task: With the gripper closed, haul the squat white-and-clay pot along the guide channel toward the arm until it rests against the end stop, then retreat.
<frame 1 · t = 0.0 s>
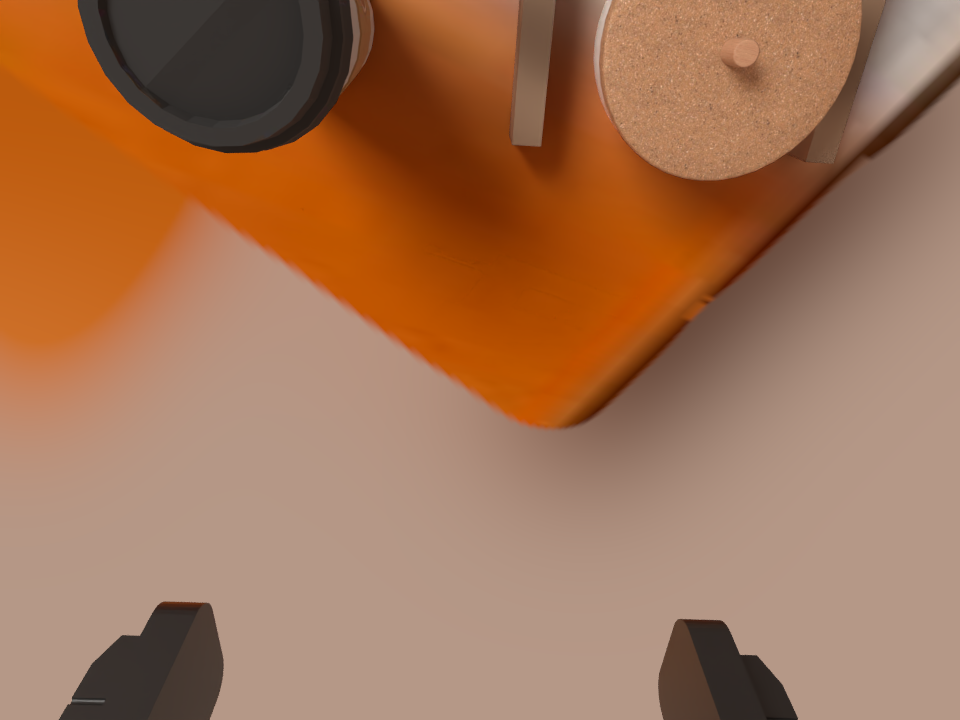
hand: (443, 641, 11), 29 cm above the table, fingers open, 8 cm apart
coffee cup: (314, 21, 32), on the table
lidded jar: (676, 44, 33), on the table
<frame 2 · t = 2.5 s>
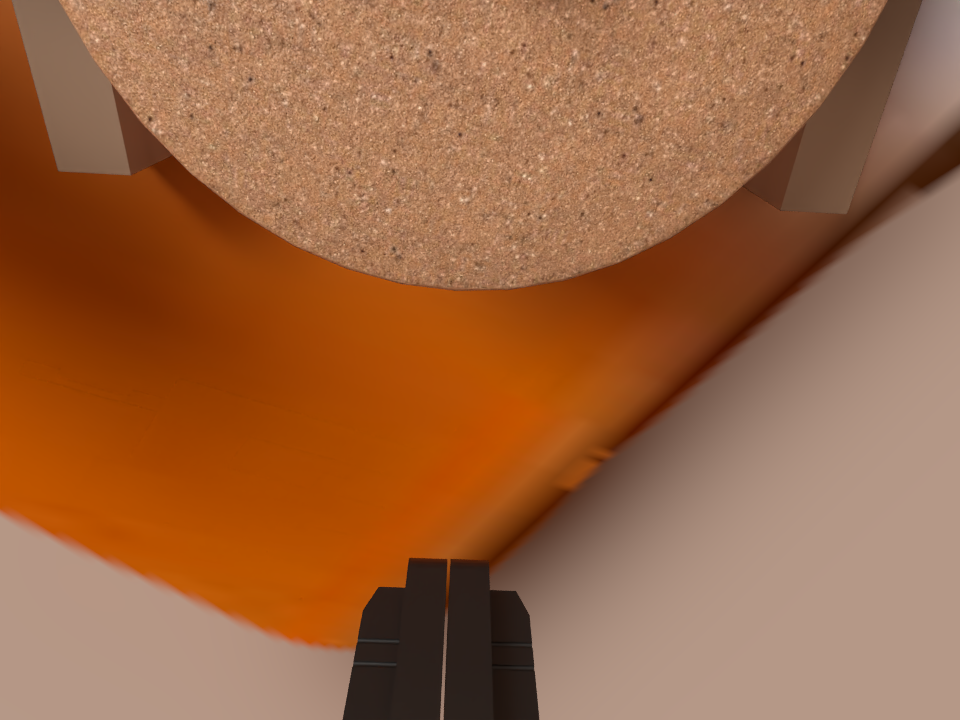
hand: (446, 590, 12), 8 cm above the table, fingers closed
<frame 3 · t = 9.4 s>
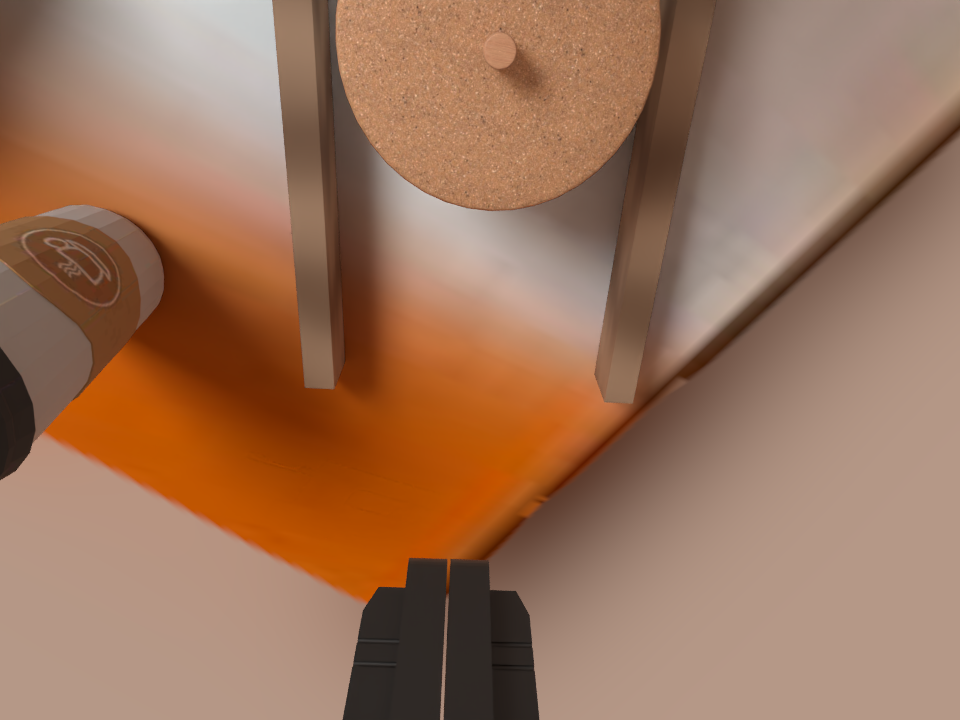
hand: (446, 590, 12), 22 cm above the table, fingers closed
channel: (485, 121, 29), on the table
coffee cup: (107, 262, 32), on the table
lidded jar: (492, 45, 27), on the table
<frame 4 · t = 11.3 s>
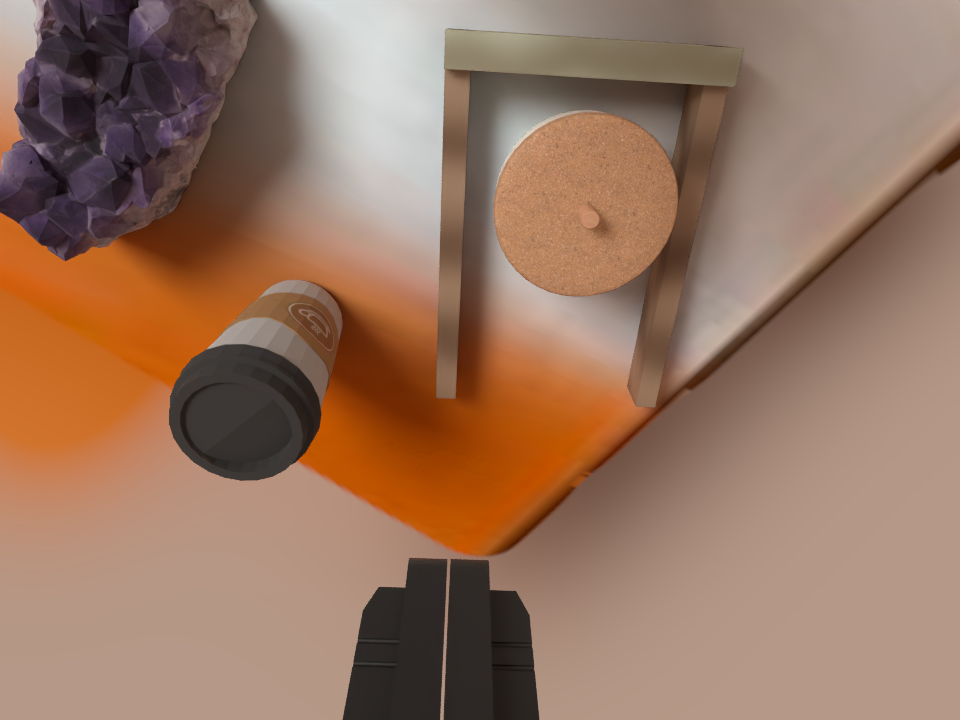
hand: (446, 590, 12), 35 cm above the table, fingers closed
geode: (152, 101, 40), on the table
channel: (561, 226, 44), on the table
coffee cup: (302, 314, 47), on the table
lidded jar: (567, 181, 43), on the table
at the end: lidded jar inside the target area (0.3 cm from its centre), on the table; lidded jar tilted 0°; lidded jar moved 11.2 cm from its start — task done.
